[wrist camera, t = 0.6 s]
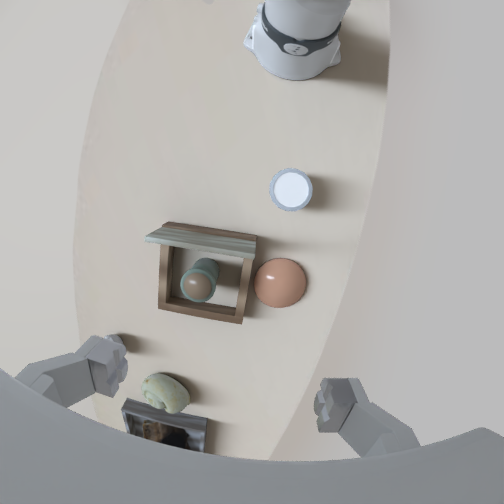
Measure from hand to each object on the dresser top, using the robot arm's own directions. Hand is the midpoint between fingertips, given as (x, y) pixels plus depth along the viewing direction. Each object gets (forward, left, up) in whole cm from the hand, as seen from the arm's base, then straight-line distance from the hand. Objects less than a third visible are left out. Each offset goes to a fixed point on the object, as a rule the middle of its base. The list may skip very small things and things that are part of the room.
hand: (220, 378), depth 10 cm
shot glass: (-7, +5, -42) cm, 43 cm away
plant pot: (+11, -7, -42) cm, 44 cm away
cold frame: (+11, -7, -42) cm, 44 cm away
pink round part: (+11, +7, -42) cm, 44 cm away
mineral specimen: (+68, -15, -41) cm, 80 cm away
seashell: (+44, -14, -42) cm, 63 cm away
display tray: (+67, -16, -42) cm, 81 cm away
